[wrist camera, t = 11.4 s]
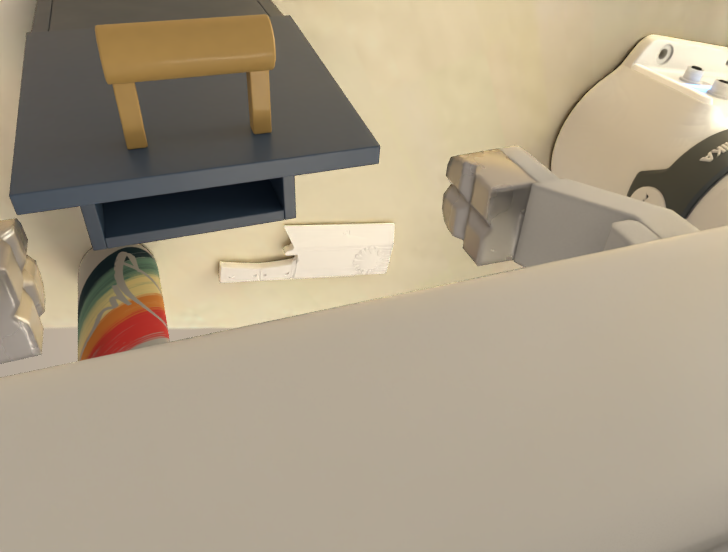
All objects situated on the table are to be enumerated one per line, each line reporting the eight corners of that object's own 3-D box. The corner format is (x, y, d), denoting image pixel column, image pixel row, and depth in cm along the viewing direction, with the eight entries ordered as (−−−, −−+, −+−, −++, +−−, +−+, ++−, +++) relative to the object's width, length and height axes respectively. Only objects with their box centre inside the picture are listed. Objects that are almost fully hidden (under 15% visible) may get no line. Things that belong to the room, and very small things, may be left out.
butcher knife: (221, 225, 48) (224, 233, 47) (393, 222, 54) (398, 228, 53) (218, 278, 51) (220, 286, 50) (382, 269, 56) (386, 276, 56)
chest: (269, 163, 46) (296, 218, 40) (91, 187, 42) (93, 251, 37) (257, -17, 38) (288, 20, 32) (37, -6, 35) (29, 38, 29)
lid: (379, 164, 23) (391, 33, 20) (16, 215, 20) (-45, 67, 16) (290, 30, 32) (288, -76, 29) (31, 49, 29) (-6, -69, 25)
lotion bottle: (158, 237, 47) (194, 447, 32) (156, 295, 50) (188, 510, 35) (76, 238, 44) (74, 464, 30) (79, 299, 47) (80, 530, 33)
